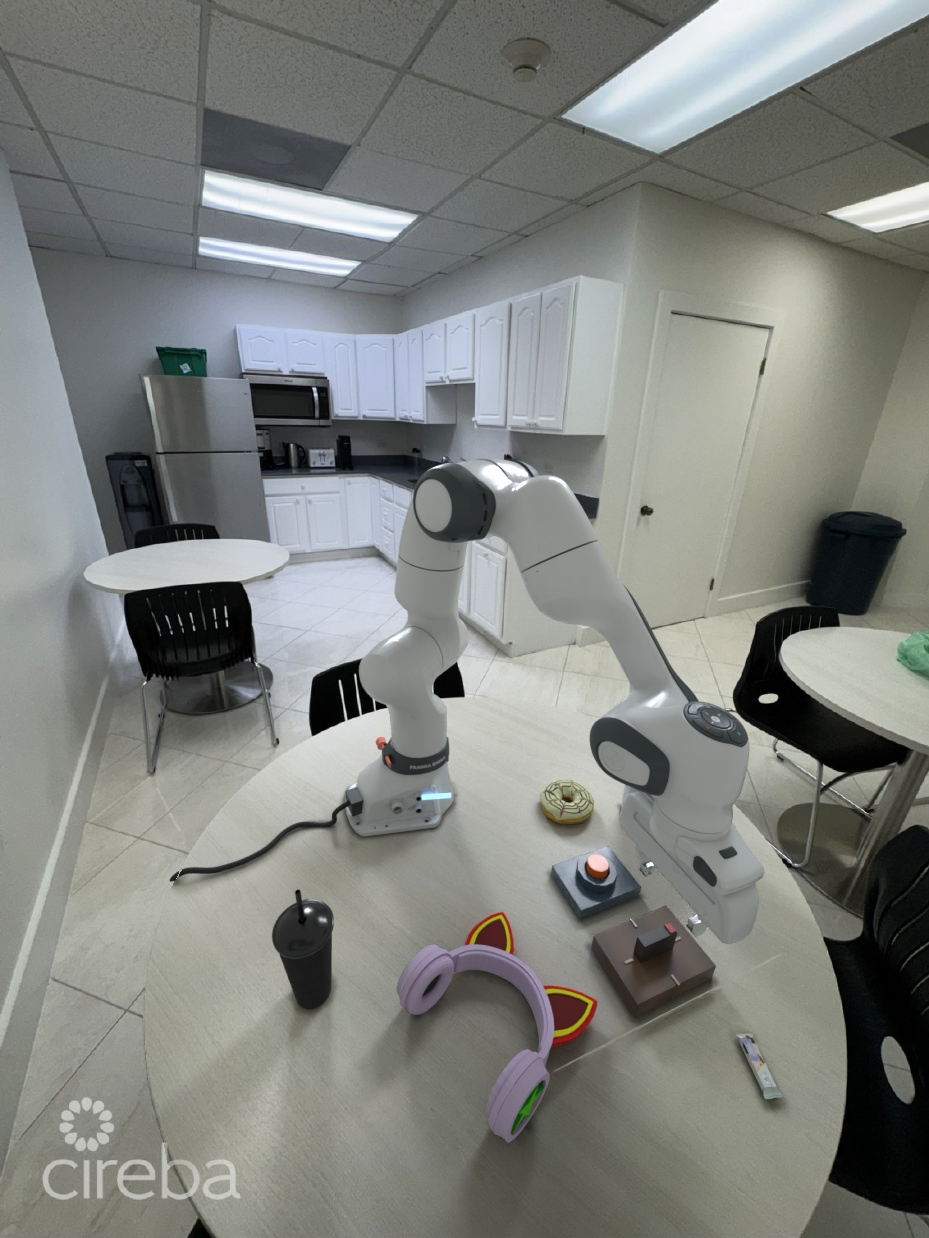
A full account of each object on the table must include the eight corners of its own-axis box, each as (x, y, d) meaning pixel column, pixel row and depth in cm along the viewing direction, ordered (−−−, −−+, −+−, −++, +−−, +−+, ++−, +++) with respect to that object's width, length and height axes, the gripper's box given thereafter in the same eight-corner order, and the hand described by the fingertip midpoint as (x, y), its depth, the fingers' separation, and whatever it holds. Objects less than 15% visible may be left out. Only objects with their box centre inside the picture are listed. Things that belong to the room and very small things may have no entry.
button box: (579, 919, 79) (582, 902, 78) (550, 874, 87) (552, 857, 85) (639, 895, 83) (643, 879, 82) (606, 854, 91) (609, 838, 90)
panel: (634, 1019, 67) (638, 1005, 65) (590, 947, 75) (593, 934, 74) (712, 979, 71) (717, 965, 70) (662, 917, 80) (666, 903, 79)
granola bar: (782, 1100, 59) (784, 1096, 58) (763, 1101, 59) (766, 1096, 58) (750, 1034, 65) (752, 1030, 65) (733, 1035, 65) (735, 1030, 65)
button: (594, 881, 82) (595, 874, 81) (581, 864, 85) (583, 857, 84) (612, 875, 83) (613, 867, 82) (599, 858, 86) (600, 851, 85)
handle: (640, 963, 70) (645, 946, 69) (633, 952, 72) (637, 935, 70) (673, 947, 72) (678, 931, 71) (665, 937, 74) (670, 921, 72)
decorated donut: (530, 798, 104) (531, 784, 102) (572, 784, 108) (574, 771, 106) (557, 834, 95) (559, 820, 94) (602, 818, 99) (605, 804, 98)
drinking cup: (311, 1034, 64) (294, 933, 56) (273, 999, 68) (251, 900, 60) (353, 981, 70) (342, 883, 62) (315, 952, 74) (300, 855, 66)
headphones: (389, 977, 63) (495, 873, 75) (399, 1015, 68) (498, 912, 80) (501, 1129, 50) (609, 974, 62) (504, 1163, 55) (604, 1013, 66)
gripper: (615, 776, 70) (603, 847, 75) (736, 899, 53) (709, 980, 58) (651, 766, 72) (636, 836, 78) (778, 881, 55) (748, 960, 60)
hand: (668, 899), depth 68 cm, fingers open, 8 cm apart
